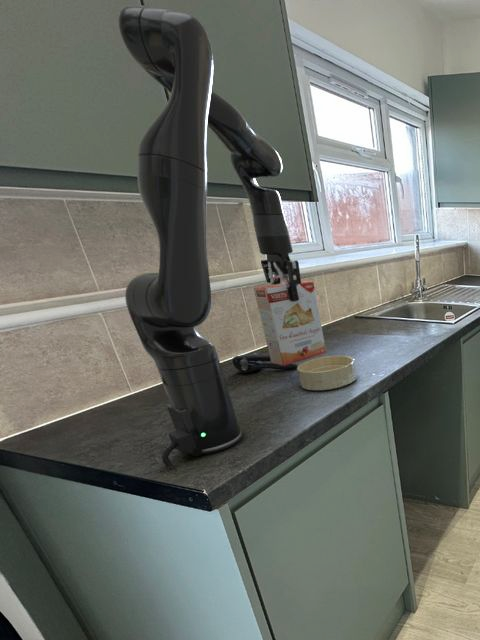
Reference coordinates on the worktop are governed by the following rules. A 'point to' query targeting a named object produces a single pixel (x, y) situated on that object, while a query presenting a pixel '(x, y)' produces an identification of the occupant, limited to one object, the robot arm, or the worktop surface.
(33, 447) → the worktop surface
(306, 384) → the bowl
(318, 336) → the cracker box
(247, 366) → the can opener
